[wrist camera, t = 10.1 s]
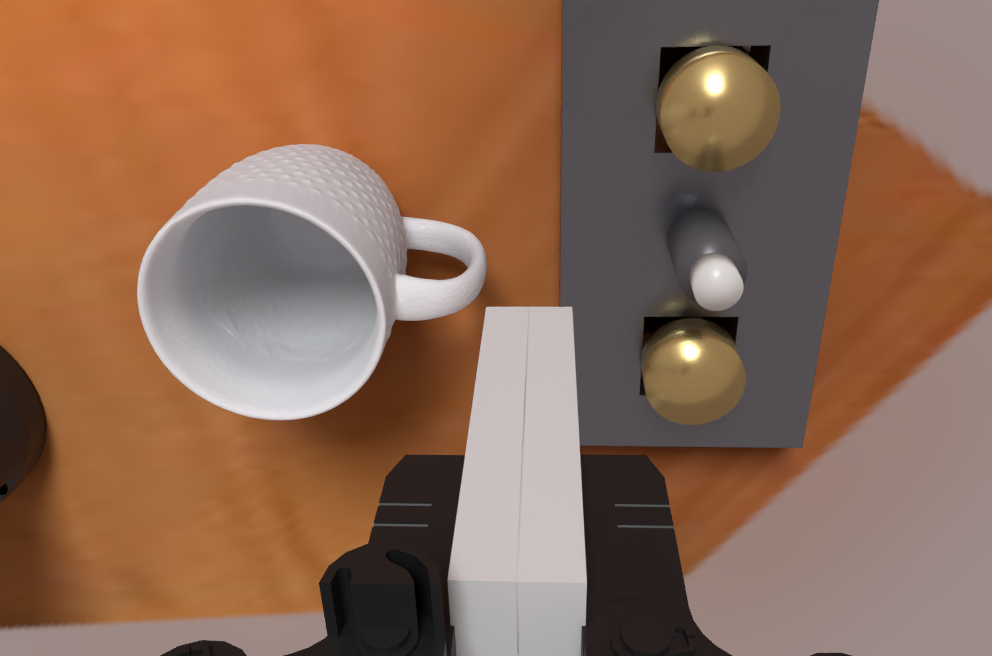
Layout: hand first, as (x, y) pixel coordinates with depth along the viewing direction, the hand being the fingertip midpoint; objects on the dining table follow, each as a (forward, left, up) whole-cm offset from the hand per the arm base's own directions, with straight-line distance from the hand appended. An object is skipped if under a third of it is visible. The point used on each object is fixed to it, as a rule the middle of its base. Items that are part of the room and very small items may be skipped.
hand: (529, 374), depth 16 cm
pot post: (+8, -9, -28) cm, 31 cm away
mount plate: (+8, -9, -32) cm, 35 cm away
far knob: (+8, -16, -32) cm, 37 cm away
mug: (-11, -9, -33) cm, 36 cm away
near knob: (+8, -2, -32) cm, 33 cm away
